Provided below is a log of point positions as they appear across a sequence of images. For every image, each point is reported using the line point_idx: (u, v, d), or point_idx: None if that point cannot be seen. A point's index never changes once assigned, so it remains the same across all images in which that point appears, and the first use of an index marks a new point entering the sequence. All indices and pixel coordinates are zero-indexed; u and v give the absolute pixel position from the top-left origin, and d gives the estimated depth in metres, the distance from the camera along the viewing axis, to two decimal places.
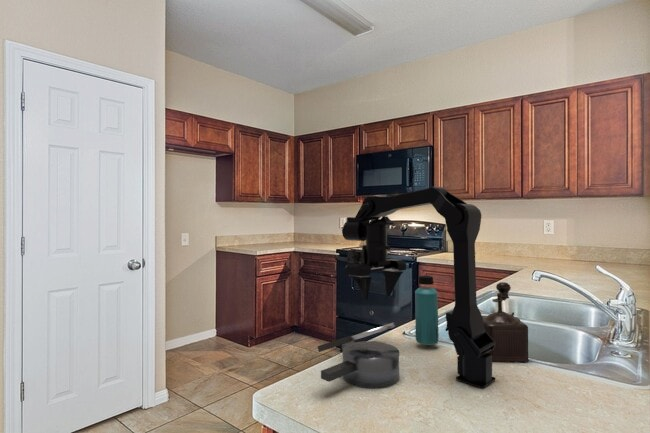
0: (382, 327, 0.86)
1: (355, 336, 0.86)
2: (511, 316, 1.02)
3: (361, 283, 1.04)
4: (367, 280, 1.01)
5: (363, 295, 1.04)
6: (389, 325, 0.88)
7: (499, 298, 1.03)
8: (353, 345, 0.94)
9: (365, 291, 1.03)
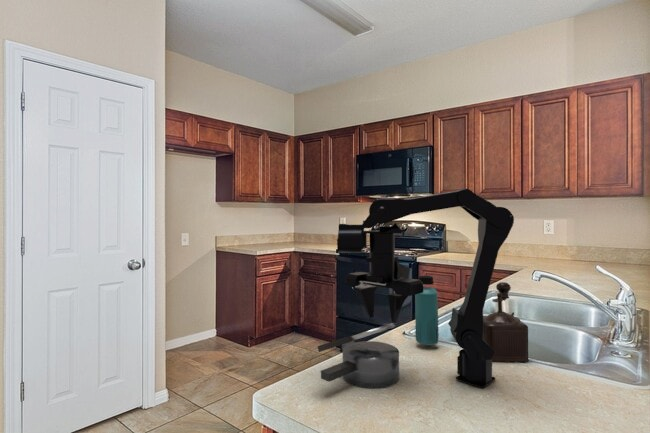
0: (382, 327, 0.86)
1: (355, 336, 0.86)
2: (511, 316, 1.02)
3: None
4: (358, 292, 0.92)
5: None
6: (389, 325, 0.88)
7: (499, 298, 1.03)
8: (353, 345, 0.94)
9: None
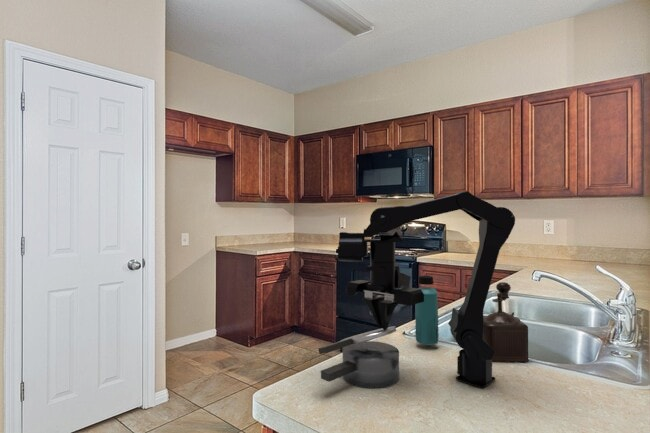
0: (384, 332, 0.86)
1: (356, 339, 0.85)
2: (511, 316, 1.02)
3: None
4: (367, 303, 0.90)
5: None
6: (391, 330, 0.87)
7: (499, 298, 1.03)
8: (353, 345, 0.94)
9: None
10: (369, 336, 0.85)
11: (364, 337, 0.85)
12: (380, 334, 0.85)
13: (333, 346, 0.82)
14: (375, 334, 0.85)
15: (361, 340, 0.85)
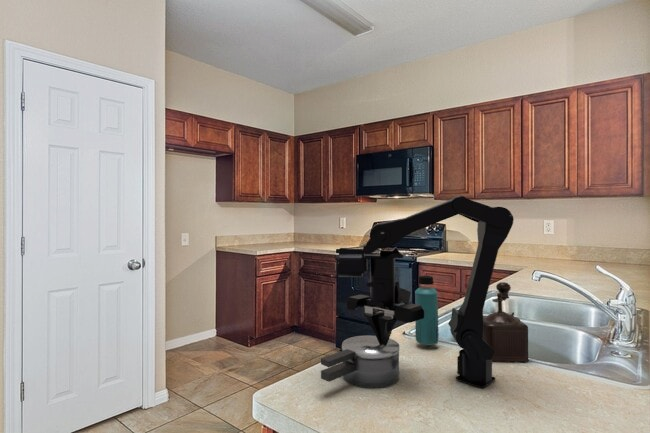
0: (388, 354, 0.85)
1: (359, 354, 0.85)
2: (511, 316, 1.02)
3: None
4: (367, 319, 0.90)
5: None
6: (395, 352, 0.86)
7: (499, 298, 1.03)
8: None
9: None
10: (373, 356, 0.84)
11: (368, 355, 0.84)
12: (384, 356, 0.84)
13: (336, 360, 0.81)
14: (379, 355, 0.84)
15: (364, 357, 0.84)
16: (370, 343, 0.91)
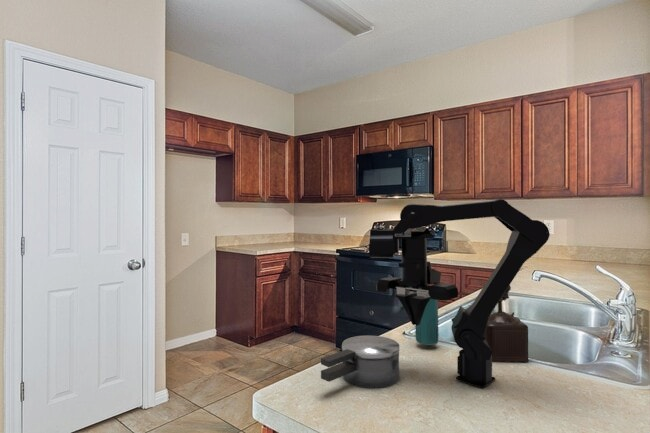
0: (388, 354, 0.85)
1: (359, 354, 0.85)
2: (511, 316, 1.02)
3: None
4: (400, 299, 0.91)
5: None
6: (395, 352, 0.86)
7: None
8: None
9: None
10: (373, 356, 0.84)
11: (368, 355, 0.84)
12: (384, 356, 0.84)
13: (336, 360, 0.81)
14: (379, 355, 0.84)
15: (364, 357, 0.84)
16: (370, 343, 0.91)
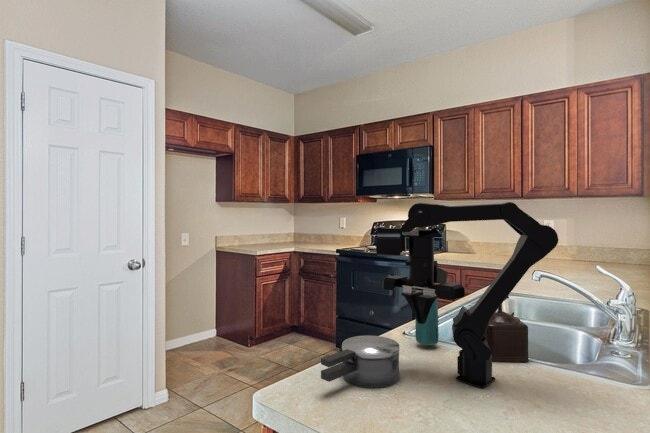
0: (388, 354, 0.85)
1: (359, 354, 0.85)
2: (511, 316, 1.02)
3: None
4: (406, 298, 0.91)
5: None
6: (395, 352, 0.86)
7: None
8: None
9: None
10: (373, 356, 0.84)
11: (368, 355, 0.84)
12: (384, 356, 0.84)
13: (336, 360, 0.81)
14: (379, 355, 0.84)
15: (364, 357, 0.84)
16: (370, 343, 0.91)
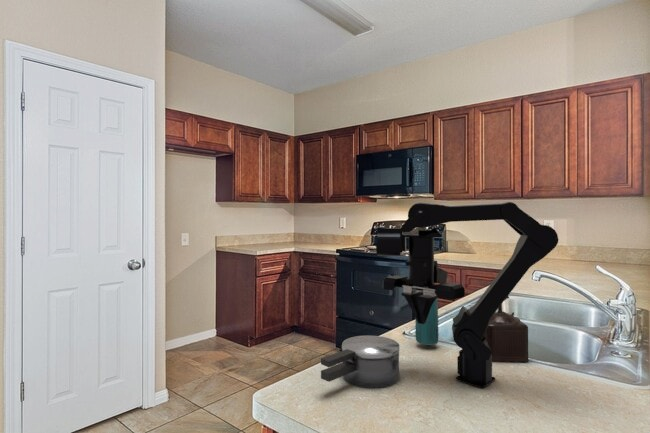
0: (388, 354, 0.85)
1: (359, 354, 0.85)
2: (511, 316, 1.02)
3: None
4: (406, 298, 0.91)
5: None
6: (395, 352, 0.86)
7: None
8: None
9: None
10: (373, 356, 0.84)
11: (368, 355, 0.84)
12: (384, 356, 0.84)
13: (336, 360, 0.81)
14: (379, 355, 0.84)
15: (364, 357, 0.84)
16: (370, 343, 0.91)
